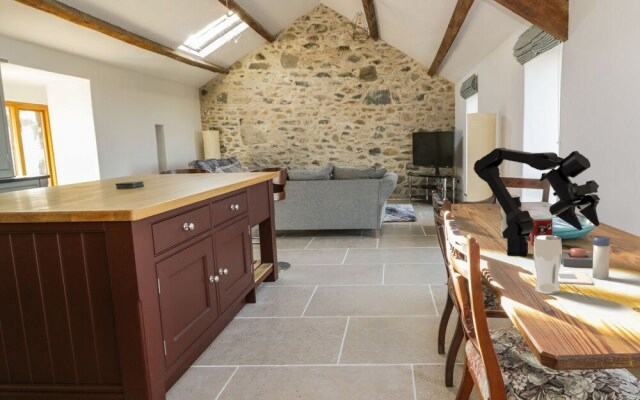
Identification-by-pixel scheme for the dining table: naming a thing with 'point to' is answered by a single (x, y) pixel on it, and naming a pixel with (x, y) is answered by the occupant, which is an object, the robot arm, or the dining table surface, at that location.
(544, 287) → the beer glass
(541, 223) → the canned food
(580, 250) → the button
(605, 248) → the blue capped bottle
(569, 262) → the button housing
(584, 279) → the cream square base plate
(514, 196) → the travel mug
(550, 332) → the dining table surface
